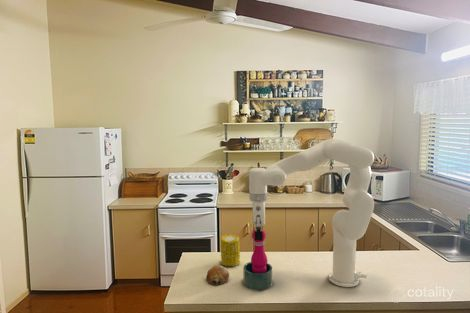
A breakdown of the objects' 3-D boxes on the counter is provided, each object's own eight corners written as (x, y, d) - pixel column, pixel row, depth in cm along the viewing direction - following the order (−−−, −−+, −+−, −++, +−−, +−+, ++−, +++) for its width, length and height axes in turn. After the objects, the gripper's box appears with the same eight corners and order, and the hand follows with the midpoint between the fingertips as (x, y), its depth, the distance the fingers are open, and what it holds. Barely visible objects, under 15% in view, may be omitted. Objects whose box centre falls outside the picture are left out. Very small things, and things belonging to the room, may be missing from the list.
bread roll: (231, 287, 144) (234, 268, 146) (219, 286, 135) (223, 267, 138) (212, 281, 149) (216, 264, 151) (200, 281, 140) (205, 262, 143)
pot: (271, 276, 146) (271, 261, 146) (272, 290, 134) (272, 274, 133) (244, 275, 148) (244, 260, 147) (242, 289, 135) (242, 273, 134)
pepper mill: (257, 265, 145) (256, 222, 143) (270, 269, 141) (270, 225, 138) (247, 271, 140) (246, 226, 137) (261, 275, 135) (260, 230, 133)
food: (239, 262, 165) (236, 272, 155) (218, 256, 166) (213, 265, 156) (246, 235, 162) (243, 243, 152) (224, 229, 163) (219, 237, 153)
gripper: (267, 201, 128) (267, 245, 130) (266, 192, 145) (267, 230, 147) (248, 201, 128) (249, 244, 130) (250, 192, 145) (250, 230, 147)
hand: (258, 237), depth 138 cm, fingers closed on pepper mill, 6 cm apart
